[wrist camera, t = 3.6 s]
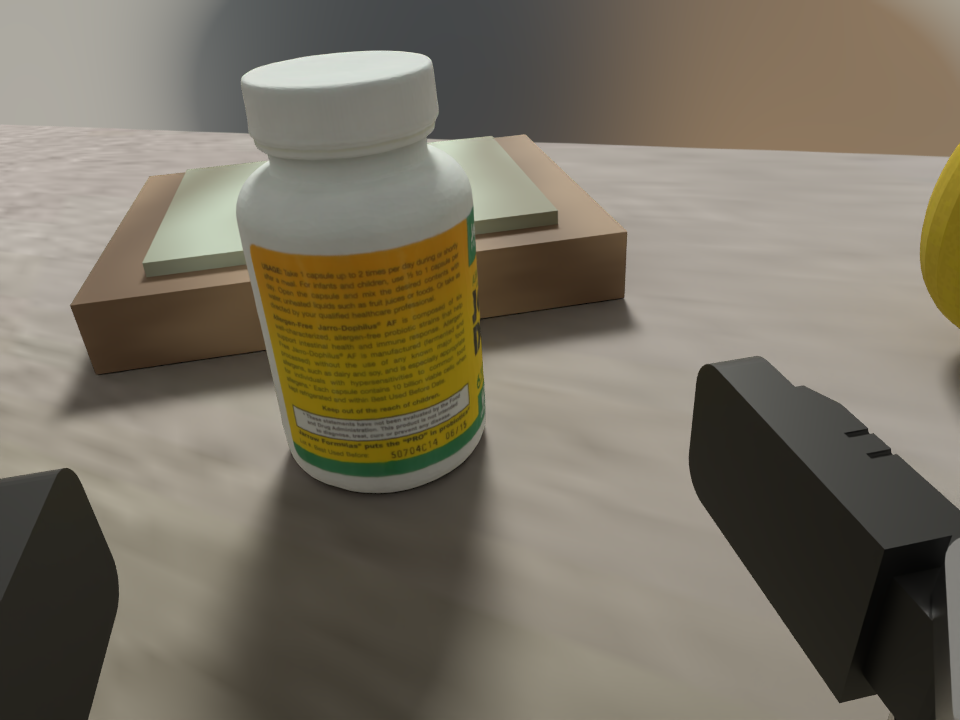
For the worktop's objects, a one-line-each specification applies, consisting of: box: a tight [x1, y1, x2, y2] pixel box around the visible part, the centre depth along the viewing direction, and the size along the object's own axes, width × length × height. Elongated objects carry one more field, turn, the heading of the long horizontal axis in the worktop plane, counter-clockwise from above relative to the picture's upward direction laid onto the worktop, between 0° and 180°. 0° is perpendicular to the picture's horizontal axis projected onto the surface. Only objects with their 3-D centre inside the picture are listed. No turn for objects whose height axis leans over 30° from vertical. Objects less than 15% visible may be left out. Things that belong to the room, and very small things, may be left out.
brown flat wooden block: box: [70, 135, 627, 374], centre depth 31 cm, size 18×14×3 cm
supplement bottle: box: [236, 51, 486, 493], centre depth 18 cm, size 5×5×10 cm
